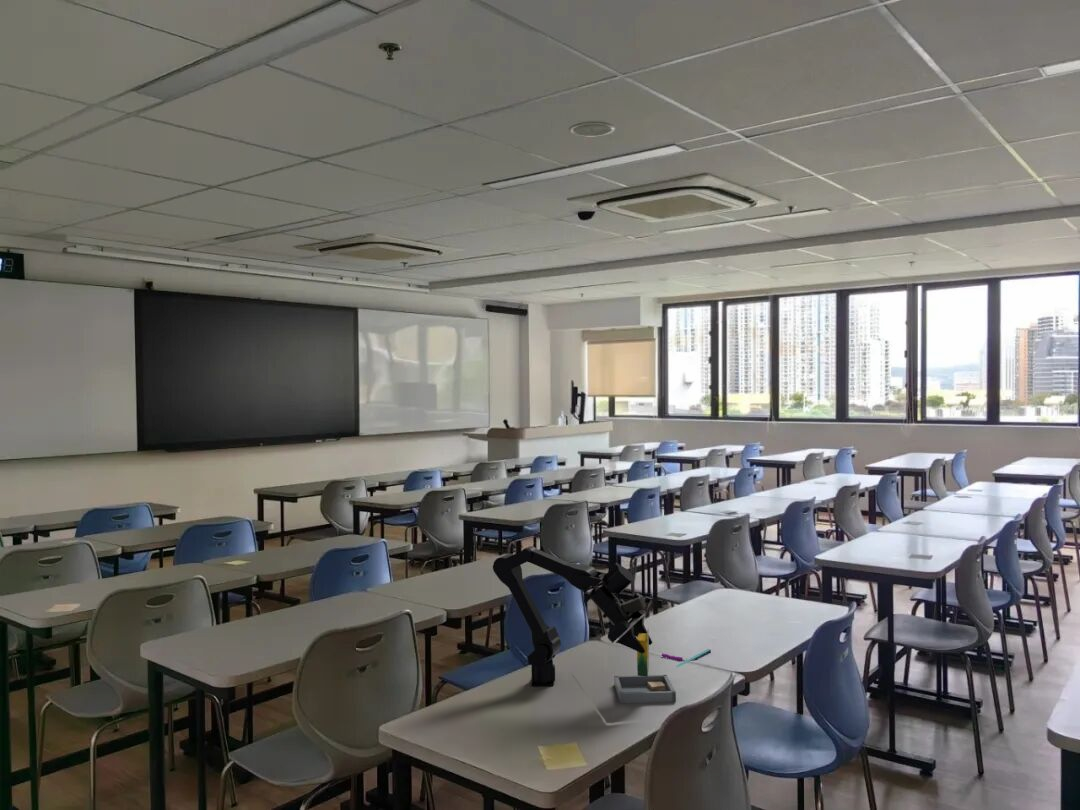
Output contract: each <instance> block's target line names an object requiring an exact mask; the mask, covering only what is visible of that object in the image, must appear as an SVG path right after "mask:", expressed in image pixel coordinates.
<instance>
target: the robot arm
mask: <svg viewBox="0 0 1080 810" xmlns="http://www.w3.org/2000/svg"><path fill="white" fill-rule="evenodd" d="M525 563H530V564H532V565H535V566H536V567H539V568H542V569H544V570H545V571H548V572H551V573H553V574H556V575H558V576H560V577H562V578H563V579H565V580H566V581H567V582H568V584H569V585H571V586H572V587H574V588H576V589H578V590H580V591H586V592H584V593H583V596H584V599H583V602H584V604H587V603H588V602H590V601H592V602H593V603H594V604H595V606H596V607H597V608H598V609H599V610H600V612H601V613H602V617H603V619H608V621H610V623H611V624H612V625H613V626H612V629H610V630H609V632H607V639H608V640H609V641H610V642H611V643H612V644H614V642H615V641H616V642H615V643H616V644H620V645H622V646H625V647H627V648H629V649H631V650H634V651H635V652H637V651H638V652H640V653H644V652H645V650H644V648H643V647H642V645H641V644H640V642H639V641H638V639H637V638H638V634H639V633H647V630H648V629H646V627H645V624H644V623H645V618H646V617H645V615H644V614H646V612H645V608H646V607H647V604H646V598H645V597H644V596H643V595H642V594H640V593H639V592H636V593H633V594H632V595H631V599H629V600H627V601H625V600H624V599H622V598H620V599H619V598H617V596H616V595H615V594H617V595H620V594H622V593H623V592H624V591H625V590H626V589H627V588H628V587H629V586H630V585H631V584H632V583H633V582H634V581H635V578H634V576H633V573H632V572H631V571H630V570H629V569H627V568H626V567H624V566H622V565H620V563H618V562H616V563H615V564H614V565H612V566H611V568H610V570H608V572H603V571H599V570H597V569H596V568H594V567H593V566H591V565H590V566H589V565H586V564H579V563H572V562H568V561H566V560H564V559H561V558H559V557H557V556H555V555H552V554H550V553H547V552H546V551H544V550H541V549H537V548H536V547H535V546H532V545H530V546H527V547H525V548H523V549H521V550H520V551H519V552H516V553H507V554H504V555H502V556H499V557H498V558H496V559H495V560H494V562H493V564H492V570H493V573H494V574H495V576H496V577H497V579H498V580H499V581H500V582H501V583H502V584H504V585H505V586H506V587H507V588H508V589H509V591H510V593H511V595H512V598H513V599H514V601H515V603H516V606H517V607H518V608H519V610H520V613H521V615H522V616H523V619H524V620H525V622H526V624H527V626H528V628H529V630H530V634H531V644H532V646H533V651H532V652H531V653H529V655H528V656H527V657H526V658H527V662H528V665H531V666H530V667H531V669H530V670H531V677H530V679H531V680H530V682H531V683H530V684H531V685H530V686H532V687H539V686H542V687H543V686H545V687H546V686H548V687H549V686H554V685H555V682H556V665H555V664H554V661H553V659H555V657H556V654H557V653H559V651H561V647H562V641H561V639H562V637H561V636H560V635H559V633H558V631H557V628H556V626H552V627H549V625H547V624H546V622H545V621H544V619H543V616H542V615H541V613H540V610H539V609H538V607H537V604H536V603H535V601H534V599H533V597H532V595H531V593H530V592H529V589H528V587H527V586H526V583H525V581H524V579H523V569H522V565H523V564H525ZM601 583H602V585H600V586H598V585H599V584H601ZM592 587H593V588H592ZM591 588H592V589H591ZM589 589H591V590H590V591H587V590H589ZM648 636H649V646H651V645H652V644H653V641H652V638H651V636H650V634H648Z"/></svg>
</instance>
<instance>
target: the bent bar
mask: <svg viewBox="0 0 1080 810" xmlns="http://www.w3.org/2000/svg"><path fill="white" fill-rule="evenodd" d="M711 651H712V649H710V648H707V649H704V650H703V651H701V652H699V653H698V654H695V655H694V656H692V657H690V658H686V659H683V657H682V656H675V655H671V654H670V655H669V654H667V653H663V652H662V653H661V656H663V657H667V658H666V659H668V658H671V659H670V660H673V659H675V660H674V661H676V660H678V661H677V662H681V663H679V664H677V665H675V667H676V668H680V667H681V666H683V665H685V664H687V663H689V662H693V661H694V659H695V660H697V659H698V658H700V656H701V657H702V655H703V656H705V655H706V654H708V653H711ZM704 654H705V655H704ZM663 657H662V658H663ZM696 658H697V659H696ZM681 660H682V661H681Z"/></svg>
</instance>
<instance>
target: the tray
mask: <svg viewBox="0 0 1080 810" xmlns="http://www.w3.org/2000/svg"><path fill="white" fill-rule="evenodd" d="M613 681H614V683H613V684H614V688H615V691H616V695H617V697H618V701H619V703H620V704H642V703H643V704H645V703H647V704H648V703H649V704H651V703H676V702H677V698H676V697H677V695H676V693H677V692H676V690H675V689H674V687H673V684H672V683H671V680H670V679H669V677H668V674H648V676H638V674H637V675H614V680H613ZM653 681H662V682H663V683H664V684H665V685H666V690H660V691H651V689H650V688H649V687H648V686H647V682H653Z"/></svg>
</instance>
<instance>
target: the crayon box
mask: <svg viewBox="0 0 1080 810" xmlns="http://www.w3.org/2000/svg"><path fill="white" fill-rule="evenodd" d="M646 630H647V633H639V634H638V638H637V637H636V638H637V639H638V641H639V642H640V644H641V645H642V647H643V648H644V650H645V652H644V653H640V652H638V651H636V662H637V663H636V664H637V665H636V666H637V667H636V669H637V675H638V676H648V675H649V672H650V651H649V650H650V645H649V636H650V634H649V629H646ZM648 634H649V636H648Z"/></svg>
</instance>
